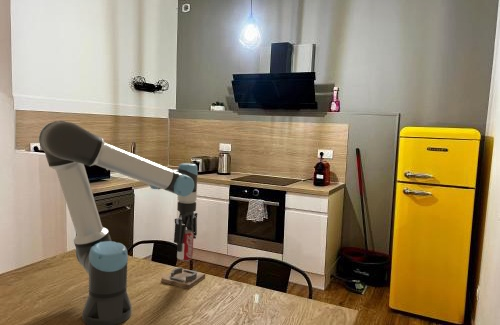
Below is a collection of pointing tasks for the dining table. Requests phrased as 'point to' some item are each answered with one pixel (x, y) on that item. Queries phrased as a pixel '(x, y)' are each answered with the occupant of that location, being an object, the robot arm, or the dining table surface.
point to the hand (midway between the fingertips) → (185, 256)
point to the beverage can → (188, 245)
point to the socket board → (183, 277)
